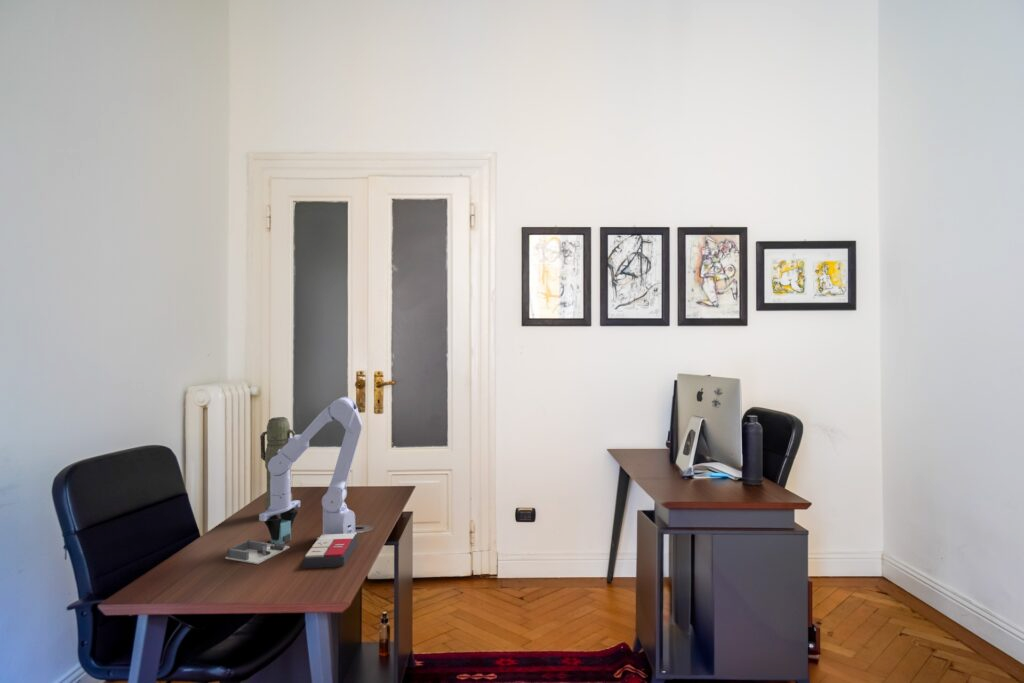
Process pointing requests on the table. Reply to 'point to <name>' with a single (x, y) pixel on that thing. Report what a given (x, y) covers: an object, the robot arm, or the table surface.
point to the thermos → (274, 446)
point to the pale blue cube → (284, 532)
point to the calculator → (330, 550)
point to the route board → (263, 553)
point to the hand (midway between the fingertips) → (280, 536)
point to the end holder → (240, 549)
